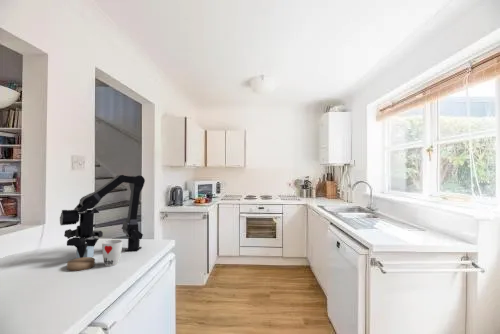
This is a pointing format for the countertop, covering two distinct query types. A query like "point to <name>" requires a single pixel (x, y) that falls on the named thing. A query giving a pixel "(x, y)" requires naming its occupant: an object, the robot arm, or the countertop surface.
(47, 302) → the countertop surface
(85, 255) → the block
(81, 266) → the brown shallow bowl
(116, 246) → the cup
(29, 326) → the countertop surface
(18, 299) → the countertop surface
